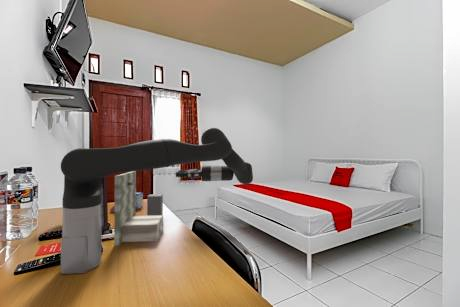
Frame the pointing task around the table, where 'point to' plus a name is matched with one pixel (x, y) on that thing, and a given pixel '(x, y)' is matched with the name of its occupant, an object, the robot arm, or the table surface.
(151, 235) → the wall shelf
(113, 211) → the video game controller
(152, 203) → the dark grey block
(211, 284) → the table surface
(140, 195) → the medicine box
